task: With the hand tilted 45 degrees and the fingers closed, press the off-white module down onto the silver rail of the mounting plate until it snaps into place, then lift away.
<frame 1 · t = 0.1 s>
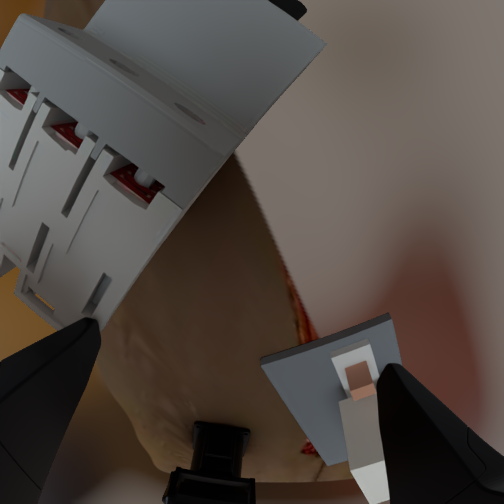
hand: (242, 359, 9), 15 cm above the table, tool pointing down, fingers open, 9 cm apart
circuit breaker: (201, 105, 20), on the table, touching gripper
module: (382, 449, 25), point 7 cm above the table, slide at 0.0 cm
mounting plate: (353, 405, 31), on the table
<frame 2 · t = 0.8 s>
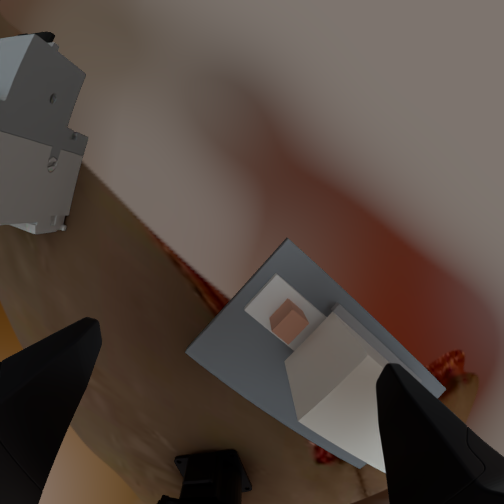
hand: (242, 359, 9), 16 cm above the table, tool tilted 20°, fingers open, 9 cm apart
circuit breaker: (54, 143, 24), on the table
module: (374, 401, 19), point 7 cm above the table, slide at 0.0 cm
mounting plate: (332, 375, 26), on the table
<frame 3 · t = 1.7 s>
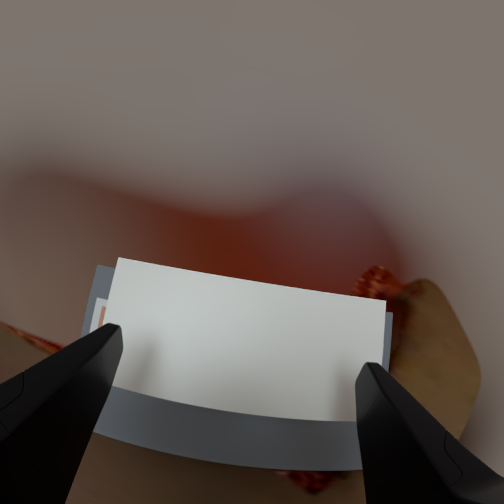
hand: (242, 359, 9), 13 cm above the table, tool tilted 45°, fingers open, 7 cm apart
module: (246, 350, 15), point 7 cm above the table, slide at 0.0 cm
mounting plate: (232, 379, 21), on the table
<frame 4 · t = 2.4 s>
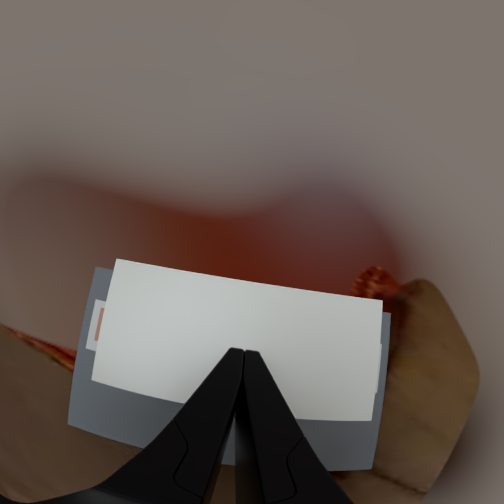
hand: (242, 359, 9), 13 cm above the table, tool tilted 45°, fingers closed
module: (244, 350, 15), point 7 cm above the table, slide at 0.0 cm
mounting plate: (230, 379, 21), on the table
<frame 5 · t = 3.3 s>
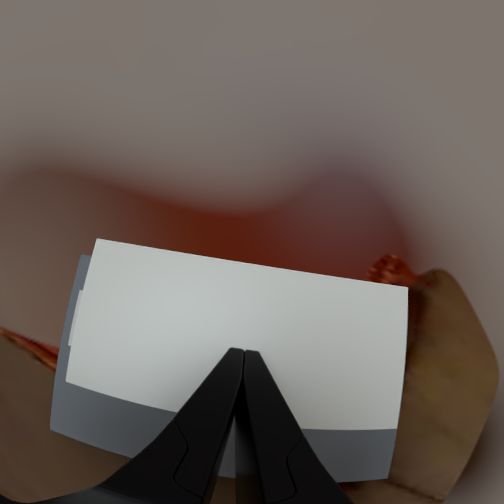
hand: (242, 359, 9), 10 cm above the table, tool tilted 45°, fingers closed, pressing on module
module: (246, 348, 13), point 6 cm above the table, slide at -0.5 cm, touching gripper
mounting plate: (230, 381, 18), on the table
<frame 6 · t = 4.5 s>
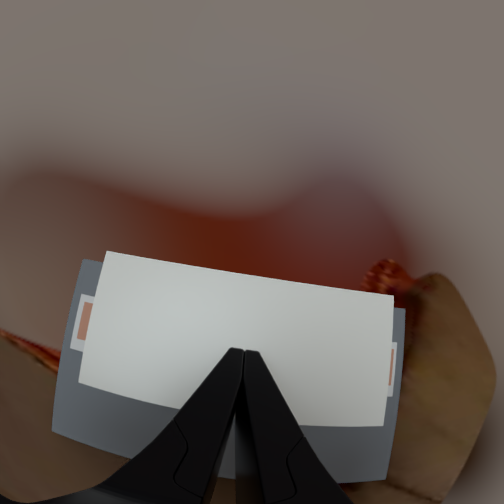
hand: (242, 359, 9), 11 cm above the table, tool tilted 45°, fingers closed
module: (244, 351, 14), point 5 cm above the table, slide at -1.2 cm
mounting plate: (230, 384, 19), on the table
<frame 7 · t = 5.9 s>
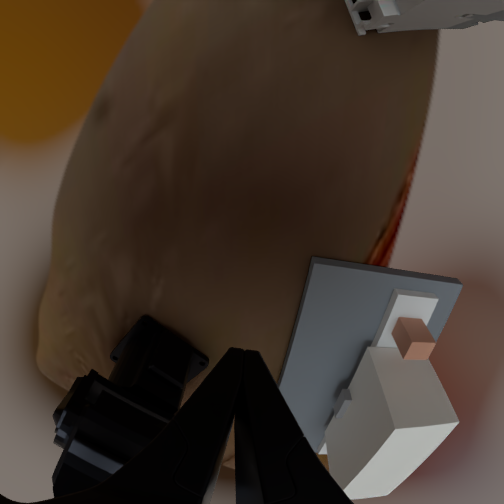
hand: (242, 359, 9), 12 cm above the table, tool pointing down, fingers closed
module: (378, 429, 21), point 5 cm above the table, slide at -1.2 cm
mounting plate: (347, 380, 26), on the table
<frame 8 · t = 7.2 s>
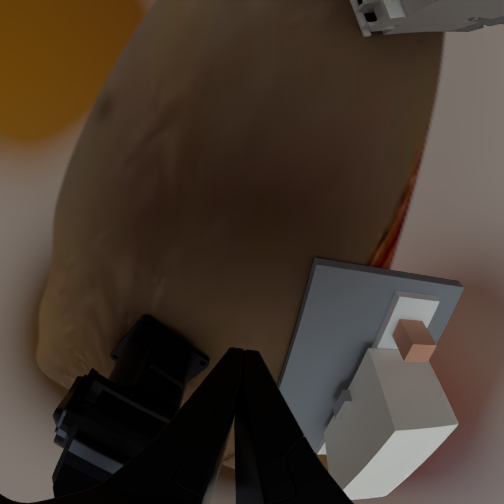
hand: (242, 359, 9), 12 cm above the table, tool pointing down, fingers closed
module: (378, 431, 21), point 5 cm above the table, slide at -1.2 cm
mounting plate: (347, 381, 26), on the table
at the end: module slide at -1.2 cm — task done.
